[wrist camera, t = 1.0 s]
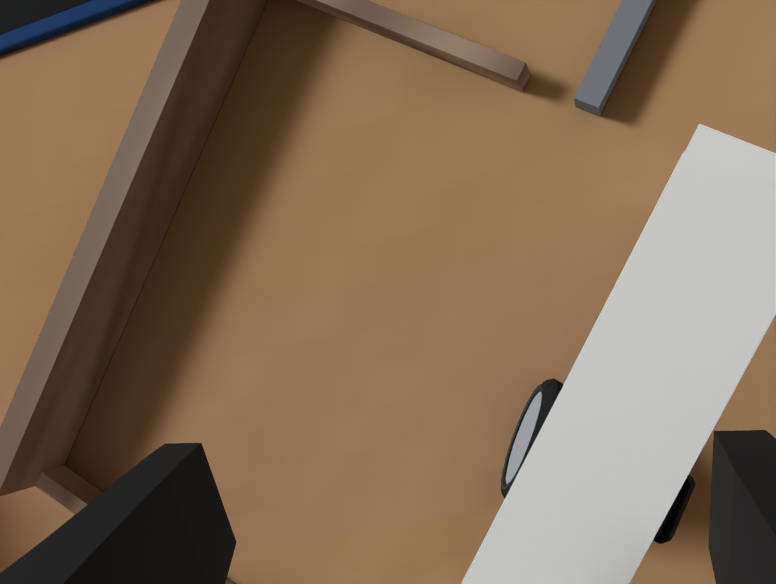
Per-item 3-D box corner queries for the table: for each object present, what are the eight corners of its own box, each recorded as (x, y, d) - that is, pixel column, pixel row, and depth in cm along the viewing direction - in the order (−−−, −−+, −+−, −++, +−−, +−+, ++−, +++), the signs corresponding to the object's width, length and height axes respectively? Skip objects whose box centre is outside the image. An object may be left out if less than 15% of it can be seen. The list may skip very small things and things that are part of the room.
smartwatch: (573, 351, 23) (561, 361, 18) (702, 472, 22) (725, 517, 17) (483, 441, 24) (449, 473, 19) (602, 563, 23) (599, 630, 18)
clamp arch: (776, 214, 22) (856, 164, 14) (530, 673, 23) (491, 837, 16) (677, 173, 22) (706, 106, 15) (447, 620, 24) (374, 752, 17)
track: (848, 200, 21) (884, 183, 18) (519, 802, 23) (505, 871, 20) (256, -34, 27) (212, -76, 24) (40, 466, 29) (-23, 482, 26)
